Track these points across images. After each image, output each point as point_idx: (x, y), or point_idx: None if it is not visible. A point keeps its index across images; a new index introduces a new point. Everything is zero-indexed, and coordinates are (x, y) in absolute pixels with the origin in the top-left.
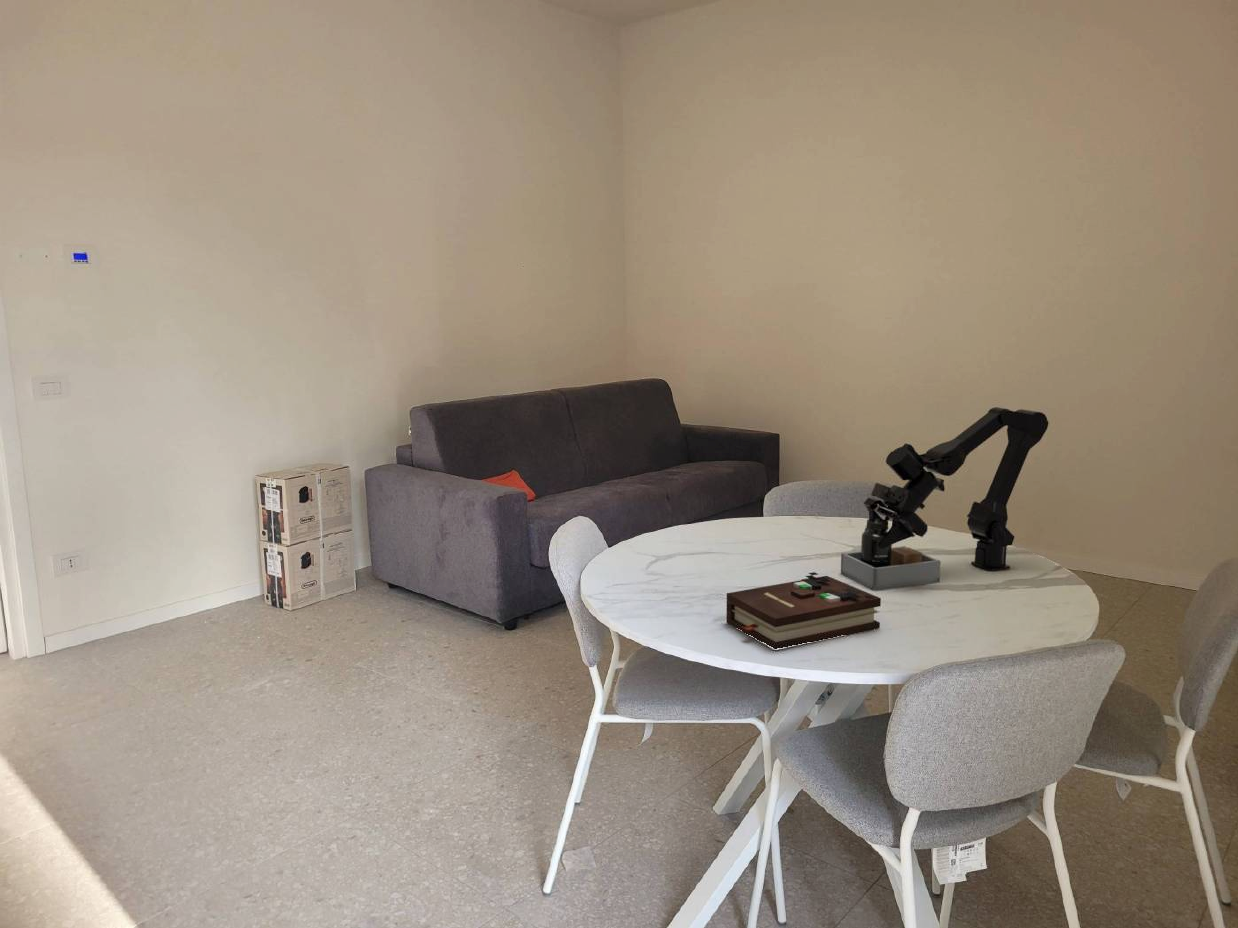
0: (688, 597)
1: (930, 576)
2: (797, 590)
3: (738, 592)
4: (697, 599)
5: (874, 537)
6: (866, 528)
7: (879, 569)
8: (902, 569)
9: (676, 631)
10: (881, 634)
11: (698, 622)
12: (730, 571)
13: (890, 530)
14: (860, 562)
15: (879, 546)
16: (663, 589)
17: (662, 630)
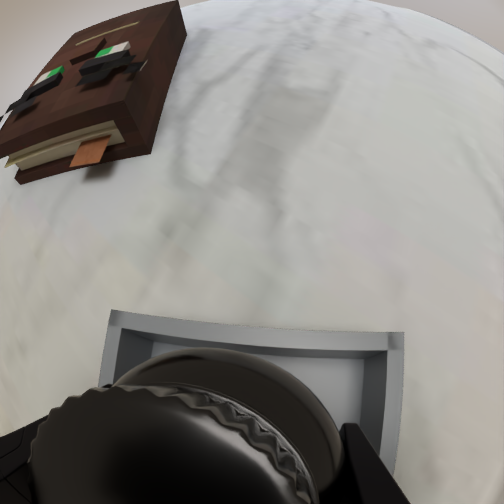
0: (309, 26)
1: None
2: (97, 43)
3: (170, 5)
4: (295, 29)
5: (123, 378)
6: (382, 488)
7: (108, 336)
8: None
9: (199, 11)
10: (12, 175)
11: (209, 20)
12: (445, 107)
13: (10, 454)
14: (221, 325)
15: (109, 384)
16: (355, 23)
17: (210, 6)
